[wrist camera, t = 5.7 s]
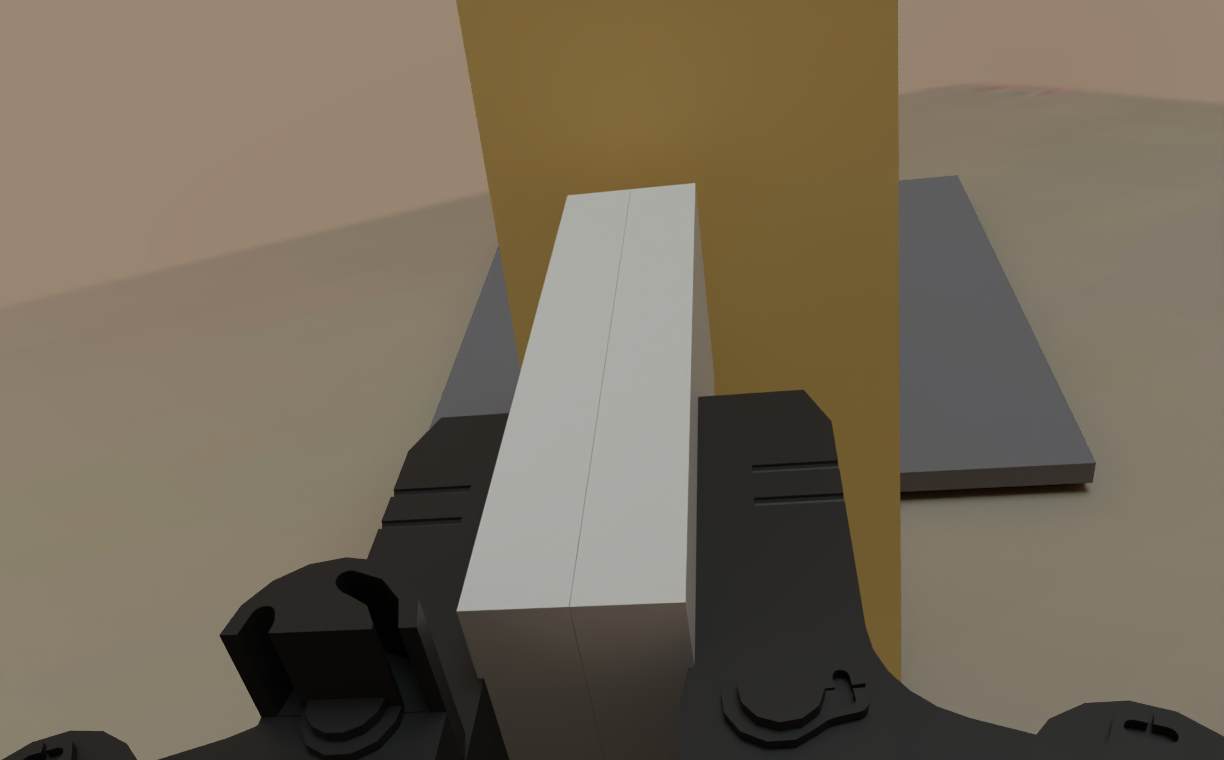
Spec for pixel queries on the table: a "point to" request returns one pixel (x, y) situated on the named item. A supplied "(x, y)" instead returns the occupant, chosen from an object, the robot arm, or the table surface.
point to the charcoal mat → (928, 350)
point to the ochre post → (728, 197)
